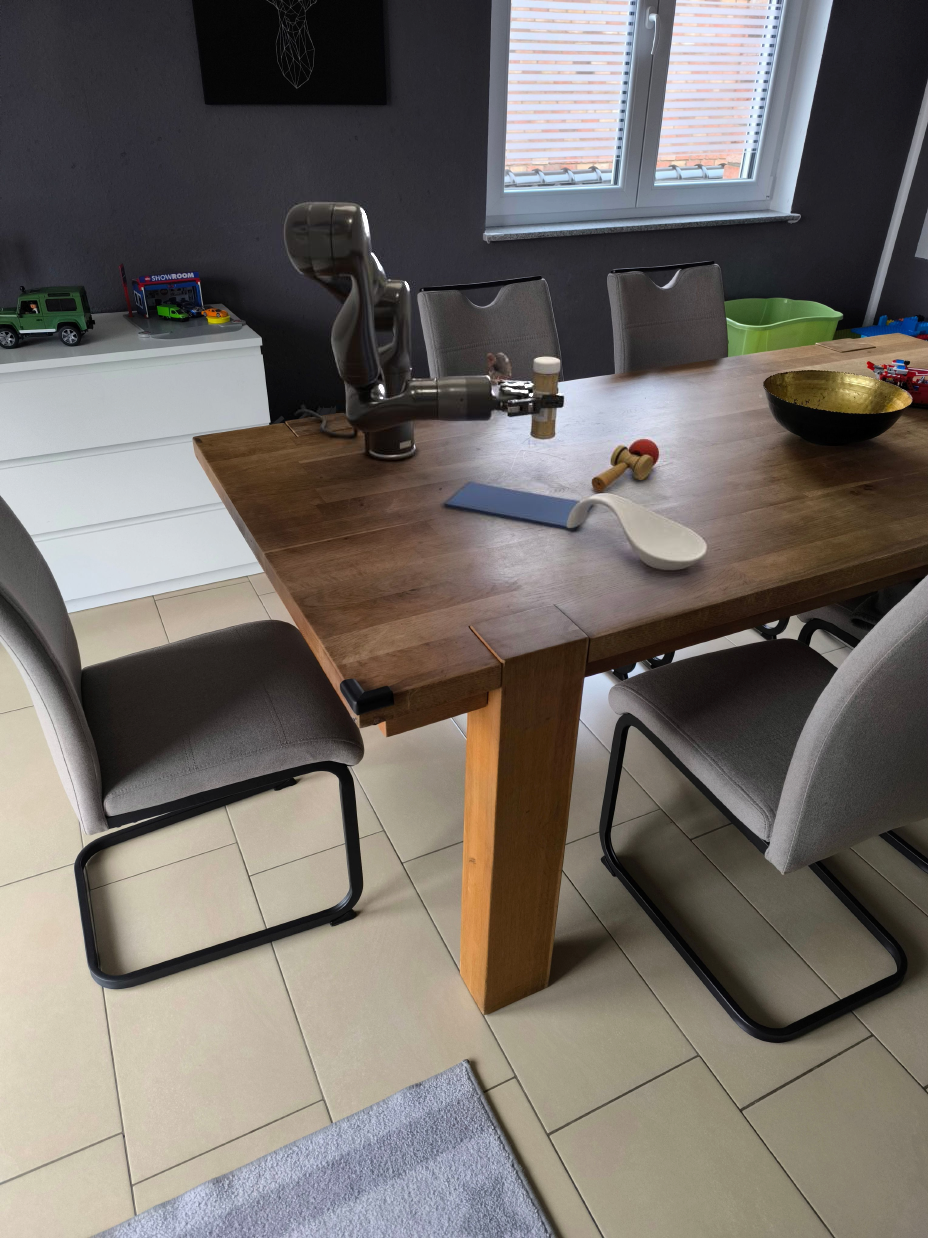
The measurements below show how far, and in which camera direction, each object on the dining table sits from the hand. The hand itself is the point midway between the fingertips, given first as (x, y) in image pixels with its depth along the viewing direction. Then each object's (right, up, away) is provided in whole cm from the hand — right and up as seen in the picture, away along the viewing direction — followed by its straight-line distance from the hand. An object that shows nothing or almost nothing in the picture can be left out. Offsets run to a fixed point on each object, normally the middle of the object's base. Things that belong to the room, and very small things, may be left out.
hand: (560, 396), depth 145 cm
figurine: (-9, +12, +53) cm, 55 cm away
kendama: (+14, -12, +14) cm, 23 cm away
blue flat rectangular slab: (-7, -19, +4) cm, 20 cm away
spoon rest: (+10, -28, -11) cm, 31 cm away
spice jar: (-3, -6, +4) cm, 8 cm away
